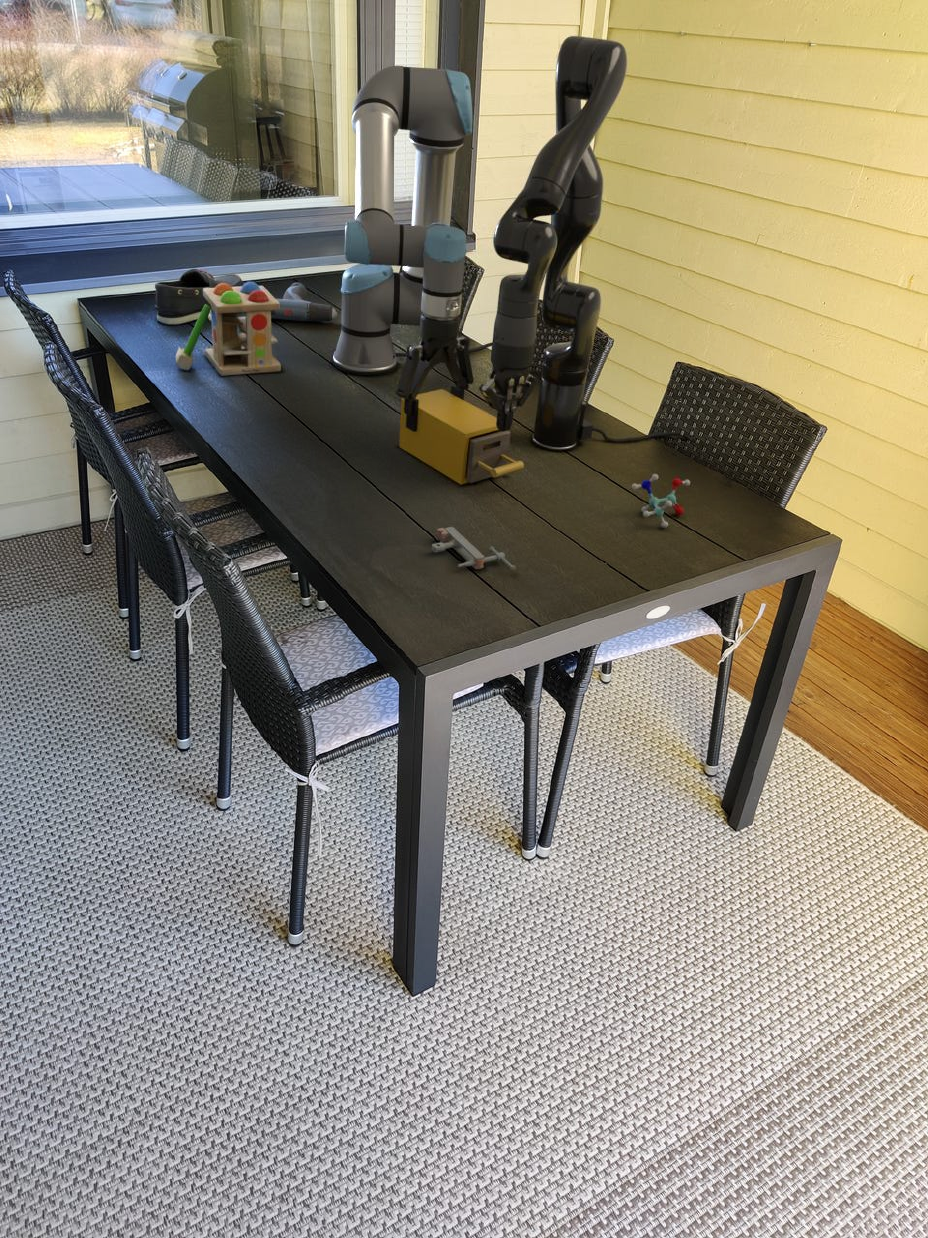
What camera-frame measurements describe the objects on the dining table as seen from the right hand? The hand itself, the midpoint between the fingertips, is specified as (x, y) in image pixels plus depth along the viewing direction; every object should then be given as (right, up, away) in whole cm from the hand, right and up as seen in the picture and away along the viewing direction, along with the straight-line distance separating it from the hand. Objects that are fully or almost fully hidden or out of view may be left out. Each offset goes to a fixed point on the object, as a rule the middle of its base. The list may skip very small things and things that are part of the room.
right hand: (503, 429), depth 182 cm
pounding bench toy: (-63, +24, +48) cm, 83 cm away
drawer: (-7, -5, +12) cm, 14 cm away
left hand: (-14, +4, +16) cm, 21 cm away
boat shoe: (-78, +48, +80) cm, 122 cm away
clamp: (-7, -25, -16) cm, 31 cm away
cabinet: (-10, -3, +16) cm, 19 cm away
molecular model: (+29, -16, +3) cm, 33 cm away
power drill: (-50, +48, +85) cm, 110 cm away
